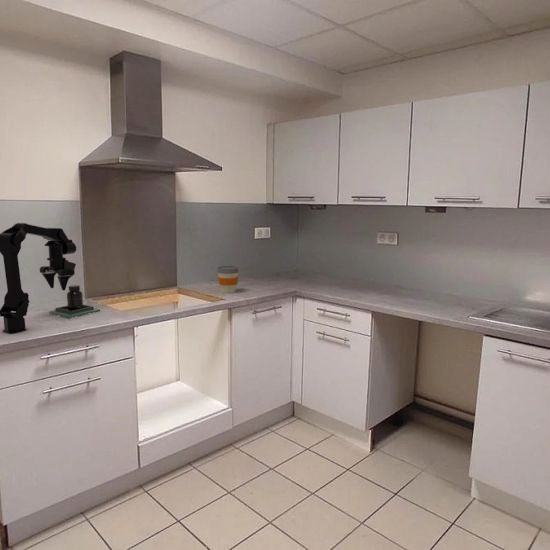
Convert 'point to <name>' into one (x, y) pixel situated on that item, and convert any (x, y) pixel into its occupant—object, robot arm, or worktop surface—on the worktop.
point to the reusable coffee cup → (228, 278)
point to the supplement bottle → (74, 298)
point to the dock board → (69, 314)
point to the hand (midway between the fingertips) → (57, 289)
